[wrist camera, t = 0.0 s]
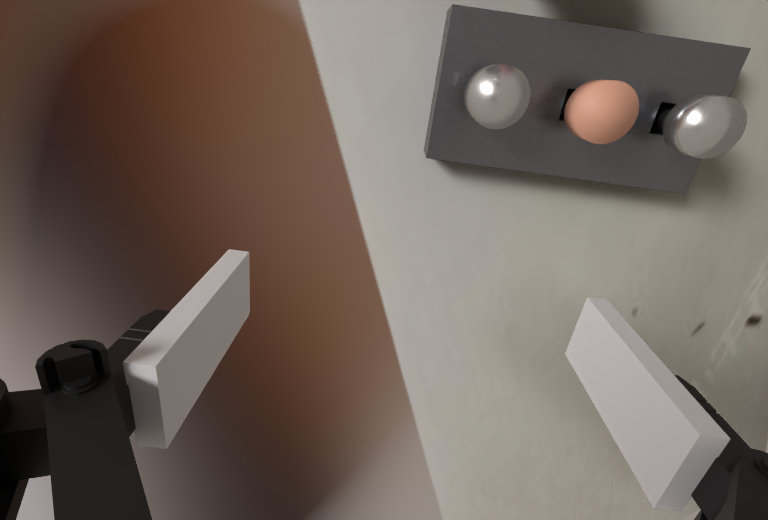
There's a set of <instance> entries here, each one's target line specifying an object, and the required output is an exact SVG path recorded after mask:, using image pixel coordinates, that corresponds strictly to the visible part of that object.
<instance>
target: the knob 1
mask: <svg viewBox="0 0 768 520" xmlns="http://www.w3.org/2000/svg"><path fill="white" fill-rule="evenodd" d="M529 101H530V85H529V82H528V80H527V78H526V76H525V75H524V74H523V73H522V71H520V70H519V69H518V68H516V67H514V66H511V65H507V64H495V65H488V66H485V67H483V68H481V69H480V70H478V71H477V72H476V73H475V74H474V75H473V76H472V77H471V78H470V80H469V81H468V83H467V86H466V88H465V93H464V104H465V107H466V110H467V112H468V114H469V115H470V116H471V117H472V118H473V119H474V120H475V121H476V122H478V123H479V124H481V125H482V126H484V127H486V128H489V129H503V128H506V127H509V126H511V125H513V124H514V123H516V122H517V121H518V120H519V119H520V118H521V117H522V116H523V114H524V113H525V111H526V109H527V107H528V104H529Z"/></svg>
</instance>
